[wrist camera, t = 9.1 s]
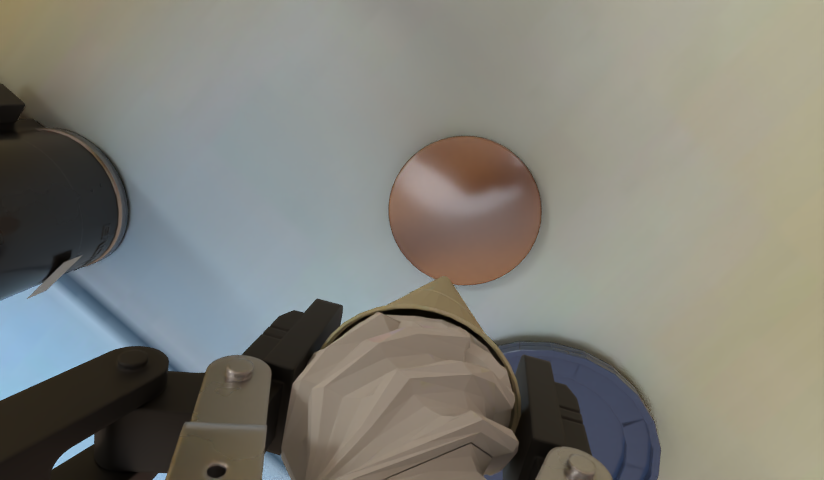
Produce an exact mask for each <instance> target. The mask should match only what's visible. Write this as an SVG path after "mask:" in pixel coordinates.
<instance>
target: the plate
mask: <svg viewBox="0 0 824 480" xmlns="http://www.w3.org/2000/svg"><path fill="white" fill-rule="evenodd" d="M498 347H499V349H500V350H501V352H502V353H503V355H504V356H505V358H506V359H507V361H508V362H509V364H510V366H511V368H512V370H513V373H514V375H515V373H516V370H517V367H518V364H519V361H520V358H521V356H522V355H527V356H531V357H535V358H538V359H542V360H546V361H549V362H550V363H551V367H552V372H553V377H554V382H558V383H561V384H565V385H567V386H568V388H569V389H570V390H571V391H572V393H573V394H574V395H575V396H576V398H577V400H578V404H579V408H580V414H581V415H582V419H583V425H584V427H585V431H586V434H587V438H588V442H589V446H590V450H591V453H592V456H593V457H594V458H596V459H597V460H598V461H599V462H601V463H602V464H603V465H604V466H605V467H606V469H607V470H608V471H609V473H610V474H611V476H612V479H613V480H657V478H658V476H659V465H660V455H661V447H660V443H659V439H658V435H657V430H656V426H655V422H654V420H653V418H652V416H651V414H650V412H649V410H648V408H647V407H646V405H645V403H644V402H643V400H642V398H641V397H640V395H639V393H638V392H637V390H636V388H635V387H634V386H633V385H632V384H631V383H630V382H629V381H628V380H627V379H625V378H624V377H623V376H622V375H621V374H620V373H619V372H618V371H617V370H616V369H615V368H614V367H612V366H611V365H609V364H607V363H605V362H604V361H602V360H600V359H598V358H596V357H594V356H592V355H591V354H589V353H587V352H585V351H583V350H579V349H575V348H571V347H567V346H564V345H560V344H556V343H551V342H515V343H510V344H505V345H501V346H498ZM484 478H486V479H487V480H503V469H502V470H501V471H500V472H498V473H496V474H493V475H491V476H490V475H487V474H484Z"/></svg>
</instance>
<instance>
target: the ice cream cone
mask: <svg viewBox="0 0 824 480" xmlns="http://www.w3.org/2000/svg"><path fill="white" fill-rule="evenodd" d="M520 416H521V397H520V392H519V387H518V383H517V380H516V377H515V375H514V373H513V370H512V368H511V366H510V364H509V362H508V361H507V359H506V358H505V356H504V355H503V353H502V352H501V350H500V349H499V347H498V346H497V345H496V344H495V343H494V342H493V341H492V340H491V339H490V338H489V337H488V336H487V335H486V334H485V333H484V331H483V330H482V328H481V327H480V325H479V324H478V322H477V321H476V319H475V318H474V316H473V315H472V313H471V312H470V310H469V309H468V307H467V305H466V304H465V302H464V301H463V299H462V298H461V296H460V295H459V293H458V292H457V290H456V288H455V287H454V285H453V284H452V282H451V281H450V279H449V278H448V277H446V276H442V277H440V278H438V279H436V280H434V281H432V282H430V283H428V284H426V285H424V286H422V287H420V288H418V289H416V290H414V291H412V292H411V293H409V294H408V295H406V296H404V297H402V298H400V299H398V300H396V301H394V302H392V303H390V304H388V305H386V306H382V307H376V308H374V309H371V310H368V311H365V312H362V313H360V314H358V315H356V316H355V317H353V318H351V319H349V320H348V321H346V322H344V323H343V324H342V325H341V326H340V327H338V328H337V329H336V330H335V331H334V332H333V333H332V334H331V335H330V336H329V337H328V339H327V340H326V341H325V343H324V344H323V345H322V347H321V349H320V350H319V351H317V352H315V353H313V355H312V357H311V358H310V360H309V361H308V363H307V366H306V368H305V369H304V371H303V372H302V373H301V374H300V375H299V376H298V378H297V379H296V380H295V381H294V382H293V384H292V389H291V395H290V401H289V406H288V412H287V418H286V423H285V429H284V435H283V440H282V446H281V458H282V461H283V463H284V465H285V467H286V469H287V471H288V474H289V476H290V478H291V480H487V479H486V478H484V474H487V475H490V476H491V475H493V474H496V473H498V472H500V471H501V470H502V469H503V468H504V467H505V466H506V465H507V464H508V463H509V462H510V460H511V459H512V458H513V457H514V456H515V455H516V453H517V452H518V445H519V441H518V440H517V438H516V436H515V433H514V432H516V430H515V429H517V426H518V422H519V419H520Z"/></svg>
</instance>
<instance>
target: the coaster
mask: <svg viewBox="0 0 824 480" xmlns="http://www.w3.org/2000/svg"><path fill="white" fill-rule="evenodd" d="M541 214H542V211H541V200H540V195H539V191H538V188H537V185H536V182H535V180H534V178H533V176H532V174H531V172H530V171H529V170H528V168H527V167H526V165H525V164H524V163H523V162H522V161H521V160H520V158H519V157H518V156H516V155H515V154H514V153H513V152H512V151H510V150H509V149H507V148H506V147H504V146H502V145H501V144H498V143H496V142H494V141H492V140H488V139H485V138H481V137H475V136H455V137H449V138H445V139H441V140H439V141H436V142H434V143H431V144H430V145H428V146H426V147H424V148H423V149H421V150H420V151H419V152H417V153H416V154H415V155H414V156H413V157H412V158H410V159H409V160H408V161H407V163H406V164H405V165H404V166H403V168H402V169H401V171H400V172H399V174H398V176H397V177H396V180H395V182H394V184H393V187H392V190H391V194H390V200H389V221H390V226H391V230H392V234H393V236H394V239H395V241H396V243H397V245H398V247H399V248H400V250H401V252H402V253H403V254H404V256H405V257H406V258H407V259H408V260H409V261H410V262H411V263H412V264H413V265H414V266H415V267H416V268H417V269H419V270H420V271H421V272H423V273H425V274H426V275H428V276H430V277H432V278H434V279H438V278H440V277H442V276H446V277H448V278H449V279H450V281H451V282H452V284H455V285H476V284H481V283H486V282H489V281H492V280H495V279H497V278H499V277H501V276H503V275H505V274H506V273H508V272H510V271H511V270H512V269H514V268H515V267H516V266H517V265H518V264H519V263H520V262H521V261H522V260H523V259H524V258H525V257H526V255H527V254H528V253H529V251H530V250H531V248H532V246H533V244H534V242H535V240H536V238H537V235H538V232H539V228H540V224H541Z"/></svg>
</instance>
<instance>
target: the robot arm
mask: <svg viewBox="0 0 824 480" xmlns="http://www.w3.org/2000/svg"><path fill="white" fill-rule="evenodd" d="M24 107H25V103H24V102H22V101H21V100H20V99H19V98H18V97H17V96H16V95H14V94H13V93H12V92H11V91H10V90H9V89H8V88H6V87H5V86H4V85H3V84H0V301H1V300H3V299H6V298H8V297H10V296H13V295H15V294H18V293H20V292H22V291H25V290H27V289H30V288H32V287H34V286H37V285H39V284H41V283H42V284H41V285H40V286H39V287H38V288H37V289H36V290H35V291H34V292H33V293H32V294H31V295H30V296H29V297H28V298H30V297H33V296H35V295H37V294H40V293H42V292H44V291H46V290H47V289H48V288H49V287H50V286H51V285H52V284H54V283H55V282H56V281H57V280H58V279H59V278H60V277H61V276H62V275H63V274H66V273H68V272H70V271H73V270H74V271H75V270H77V269H79V268H82V267H85V266H88V265H91V264H93V263H96V262H98V261H100V260H102V259H104V258H106V257H107V256H109V255H110V254H111V253H112V252H113V251H114V250H115V249H116V248H117V247H118V245H119V244H120V242H121V240H122V238H123V236H124V234H125V231H126V227H127V221H128V204H127V198H126V194H125V190H124V187H123V184H122V182H121V179H120V177H119V175H118V173H117V171H116V170H115V168H114V167H113V165H112V163H111V162H110V161H109V160H108V158H107V157H106V156H105V155H104V154H103V153H102V152H101V151H100V150H99V149H98V148H97V147H96V146H95V145H94V144H92V143H91V142H90V141H88V140H87V139H85V138H83V137H82V136H80V135H78V134H76V133H73V132H71V131H68V130H64V129H59V128H44V127H43V126H41V125H40V124H39V123H37V122H36V121H35V120H34V119H20V120H18V118H19V116H20V114H21V112H22V111H23V109H24ZM28 298H27V299H28ZM342 313H343V306H342V305H339V304H336V303H332V302H328V301H325V300H321V299H316V300H315V301H314V302H313V303H312V305H311V306H310V307H309V308H308V309H307V310H306V311H305V313H303V312H299V311H295V310H293V311H291V312H288V313H286V314H283V315H281V316H279V317H278V318H277V319H276V320H275V321H274V322H273V323H272V324H271V326H270V327H268V328H267V329H266V330H265V331H264V333H263V334H261V335H260V337H259V338H258V339H257V340H256V341H255V342H254V343H253V344H252V345H251V346H250V347H249V348H248V349H247V350H246V351H245V352H244V353H243V354H242V355H231V356H226V357H222V358H220V359H217V360H215V361H214V362H212V363H211V364H210V365H209V366H208V368H207V370H206V373H189V372H175V371H168V365H169V360H168V357H167V356H166V355H165V354H164V353H163V352H161V351H159V350H157V349H154V348H150V347H143V346H131V347H124V348H119V349H115V350H113V351H110V352H108V353H105V354H103V355H101V356H99V357H97V358H94V359H92V360H90V361H88V362H85V363H83V364H81V365H79V366H77V367H74V368H72V369H70V370H68V371H65V372H63V373H61V374H59V375H57V376H54V377H52V378H50V379H48V380H45V381H43V382H41V383H39V384H37V385H34V386H32V387H30V388H28V389H26V390H23V391H21V392H19V393H17V394H14V395H12V396H10V397H8V398H6V399H3V400H1V401H0V480H152V479H153V478H154V477H155V476H156V475H157V474H158V473H167V476H166V479H165V480H262V471H263V462H264V454H265V452H266V451H268V452H271V453H274V454H278V455H281V446H282V440H283V435H284V429H285V423H286V418H287V412H288V406H289V401H290V395H291V389H292V384H293V382H294V381H295V380H296V379H297V378H298V376H299V375H300V374H301V373H302V372H303V371H304V369H305V368H306V366H307V363H308V361H309V360H310V358H311V357H312V355H313V353H315V352H317V351H319V350H320V349H321V347H322V345H323V344H324V343H325V341H326V340H327V339H328V337H329V336H330V335H331V334H332V333H333V332H334V331H335V330H336V329H337V328H338V327H340V324H341V318H342ZM515 377H516V380H517V383H518V387H519V392H520V397H521V416H520V419H519V422H518V426H517V429H515V430H516V432H514V433H515V436H516V438H517V440H518V441H519V445H518V452H517V453H516V455H515V456H514V457H513V458H512V459H511V460H510V462H509V463H508V464H507V465H506V466H505V467H504V468H503V480H613V479H612V476H611V474H610V473H609V471H608V470H607V469H606V467H605V466H604V465H603V464H602V463H601V462H599V461H598V460H597V459H596V458H594V457H593V456H592V453H591V450H590V446H589V442H588V438H587V434H586V431H585V427H584V425H583V419H582V415H581V414H580V408H579V404H578V400H577V398H576V396H575V395H574V394H573V393H572V391H571V390H570V389H569V388H568V386H567V385H565V384H561V383H558V382H554V377H553V372H552V367H551V363H550V362H549V361H546V360H542V359H538V358H535V357H531V356H527V355H522V356H521V358H520V361H519V364H518V367H517V370H516V373H515ZM93 434H94V444H93V445H92V446H90V447H88V448H87V449H85V450H83V451H82V452H80V453H79V454H77V455H75V456H74V457H72V458H70V459H69V460H67V461H65V462H64V463H62V464H61V465H59V466H57V467H56V468H54V469H52V468H53V466H54V464H55V463H56V461H57V460H58V459H59V457H60V456H61V455H62V454H63V453H64V452H66V451H67V450H68V449H70V448H71V447H73V446H75V445H76V444H78V443H80V442H81V441H83V440H85V439H86V438H88V437H90V436H91V435H93Z"/></svg>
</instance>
